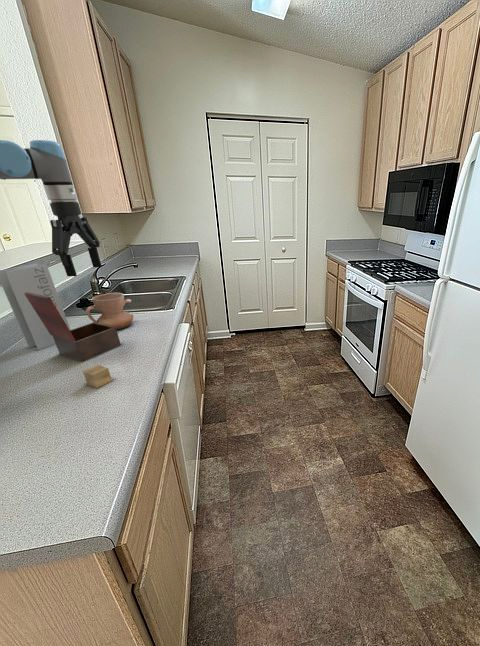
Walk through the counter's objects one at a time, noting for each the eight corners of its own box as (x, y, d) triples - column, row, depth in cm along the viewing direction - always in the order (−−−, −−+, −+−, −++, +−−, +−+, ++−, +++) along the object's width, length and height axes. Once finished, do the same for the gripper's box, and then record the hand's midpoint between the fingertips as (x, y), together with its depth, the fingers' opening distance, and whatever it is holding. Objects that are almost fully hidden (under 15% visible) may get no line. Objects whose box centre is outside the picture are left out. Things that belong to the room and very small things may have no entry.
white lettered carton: (38, 351, 127) (5, 272, 113) (29, 349, 129) (-5, 271, 115) (73, 337, 139) (46, 264, 125) (63, 335, 141) (36, 263, 127)
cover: (26, 292, 110) (23, 293, 109) (49, 296, 104) (46, 298, 104) (53, 333, 120) (50, 335, 119) (75, 340, 114) (73, 341, 113)
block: (87, 385, 103) (82, 371, 101) (102, 378, 107) (97, 364, 105) (97, 389, 101) (92, 375, 99) (112, 381, 105) (108, 367, 103)
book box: (99, 340, 135) (93, 322, 132) (121, 345, 130) (115, 327, 126) (60, 355, 123) (52, 336, 120) (82, 362, 117) (74, 342, 114)
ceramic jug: (133, 318, 158) (125, 289, 151) (140, 327, 147) (132, 296, 141) (90, 327, 149) (80, 296, 142) (94, 337, 138) (83, 304, 132)
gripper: (45, 202, 90) (71, 280, 100) (99, 199, 112) (116, 263, 122) (19, 202, 90) (47, 280, 100) (78, 200, 113) (96, 264, 122)
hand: (85, 271), depth 111 cm, fingers open, 13 cm apart
